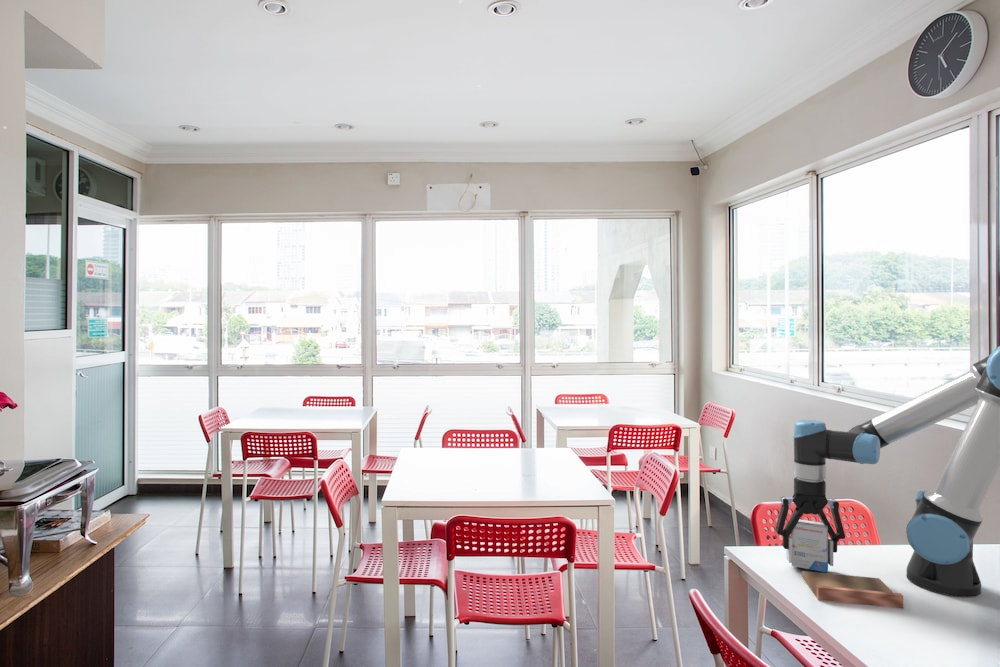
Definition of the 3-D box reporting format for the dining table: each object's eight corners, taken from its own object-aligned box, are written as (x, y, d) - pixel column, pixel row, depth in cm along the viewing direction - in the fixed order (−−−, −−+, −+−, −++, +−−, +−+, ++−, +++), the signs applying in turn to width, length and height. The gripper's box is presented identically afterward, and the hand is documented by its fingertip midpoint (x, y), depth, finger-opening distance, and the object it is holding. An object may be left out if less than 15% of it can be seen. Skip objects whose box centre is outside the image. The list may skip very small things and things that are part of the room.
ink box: (828, 566, 157) (828, 522, 157) (827, 573, 153) (827, 527, 153) (793, 560, 161) (793, 517, 161) (791, 566, 157) (790, 522, 157)
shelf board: (879, 584, 148) (879, 572, 148) (903, 608, 135) (903, 595, 135) (801, 576, 152) (802, 565, 152) (818, 600, 139) (818, 587, 139)
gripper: (849, 477, 158) (849, 560, 158) (762, 473, 163) (762, 553, 163) (860, 484, 151) (860, 571, 151) (768, 479, 156) (768, 564, 156)
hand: (809, 562), depth 157 cm, fingers closed on ink box, 9 cm apart
